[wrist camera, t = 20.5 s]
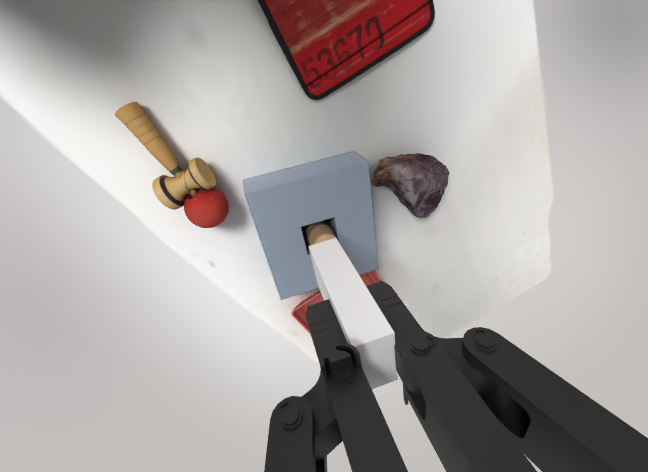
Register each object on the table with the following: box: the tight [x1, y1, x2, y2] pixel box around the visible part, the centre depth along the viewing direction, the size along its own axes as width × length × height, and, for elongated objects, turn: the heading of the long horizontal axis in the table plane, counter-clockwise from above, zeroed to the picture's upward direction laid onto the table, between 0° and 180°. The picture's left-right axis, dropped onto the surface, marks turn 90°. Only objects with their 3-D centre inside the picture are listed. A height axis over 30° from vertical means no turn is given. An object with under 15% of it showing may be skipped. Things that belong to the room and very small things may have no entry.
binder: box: [258, 0, 435, 100], centre depth 37 cm, size 16×2×21 cm
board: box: [243, 151, 378, 300], centre depth 49 cm, size 20×18×6 cm
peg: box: [302, 220, 360, 276], centre depth 44 cm, size 4×4×18 cm
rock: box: [372, 153, 449, 218], centre depth 49 cm, size 12×9×10 cm
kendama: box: [115, 102, 229, 228], centre depth 40 cm, size 8×6×18 cm
